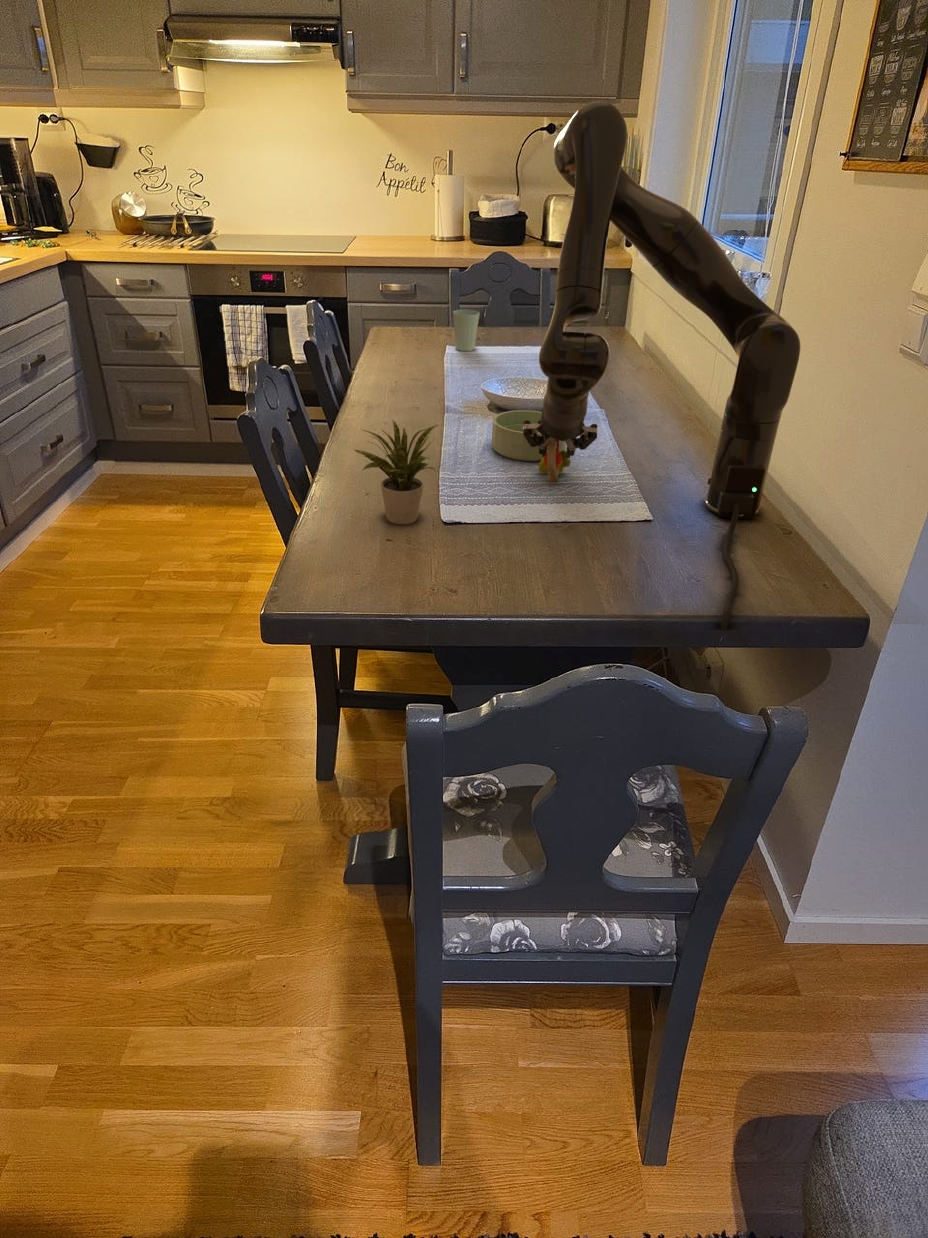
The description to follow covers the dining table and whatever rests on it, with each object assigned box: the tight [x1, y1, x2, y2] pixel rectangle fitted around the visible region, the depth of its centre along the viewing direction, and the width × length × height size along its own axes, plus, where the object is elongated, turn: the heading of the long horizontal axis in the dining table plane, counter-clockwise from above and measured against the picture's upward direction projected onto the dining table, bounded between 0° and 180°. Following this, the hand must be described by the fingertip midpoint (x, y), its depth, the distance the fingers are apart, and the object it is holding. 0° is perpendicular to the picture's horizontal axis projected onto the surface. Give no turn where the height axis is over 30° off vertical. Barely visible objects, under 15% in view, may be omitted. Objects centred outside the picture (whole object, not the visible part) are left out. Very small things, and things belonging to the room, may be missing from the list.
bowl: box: [490, 409, 566, 462], centre depth 172 cm, size 15×15×6 cm
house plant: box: [354, 419, 440, 525], centre depth 139 cm, size 14×14×16 cm
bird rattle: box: [537, 441, 571, 483], centre depth 158 cm, size 6×11×9 cm
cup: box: [452, 309, 480, 352], centre depth 245 cm, size 8×8×10 cm
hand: (555, 452), depth 160 cm, fingers closed on bird rattle, 4 cm apart
